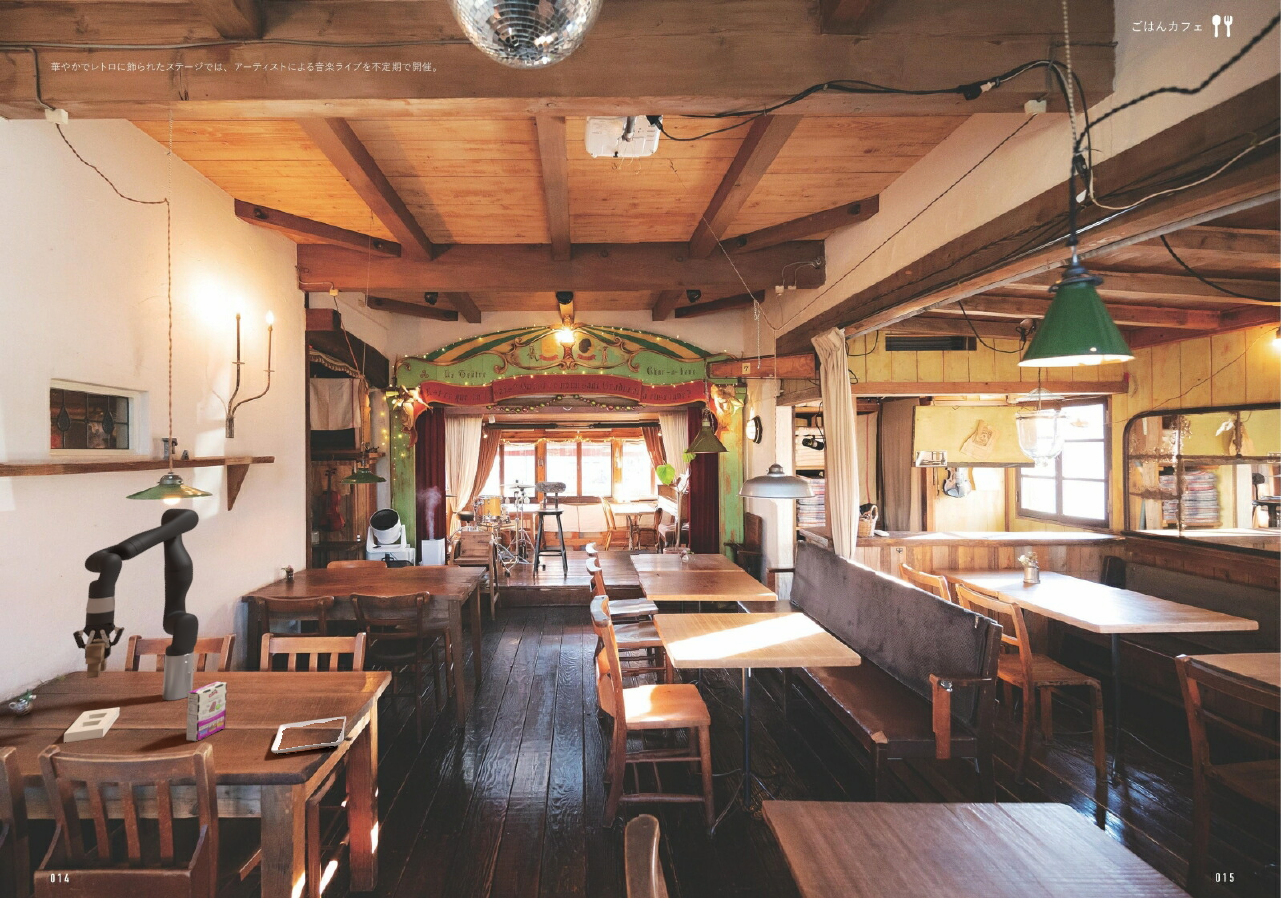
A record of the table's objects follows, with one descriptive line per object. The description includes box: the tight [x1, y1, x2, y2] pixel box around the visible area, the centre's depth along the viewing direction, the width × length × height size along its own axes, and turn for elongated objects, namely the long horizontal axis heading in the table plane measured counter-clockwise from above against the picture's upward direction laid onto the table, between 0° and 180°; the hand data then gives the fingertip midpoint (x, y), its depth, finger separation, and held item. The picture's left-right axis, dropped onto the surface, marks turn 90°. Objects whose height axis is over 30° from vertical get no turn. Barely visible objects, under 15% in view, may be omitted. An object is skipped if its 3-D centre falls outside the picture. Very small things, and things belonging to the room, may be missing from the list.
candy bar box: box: [185, 680, 228, 742], centre depth 211 cm, size 11×5×16 cm, turn 168°
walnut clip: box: [85, 639, 108, 679], centre depth 213 cm, size 4×10×11 cm, turn 28°
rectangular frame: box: [270, 715, 347, 755], centre depth 208 cm, size 21×21×3 cm
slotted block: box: [63, 706, 121, 744], centre depth 212 cm, size 10×20×3 cm, turn 29°
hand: (97, 658), depth 213 cm, fingers closed on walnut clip, 4 cm apart
